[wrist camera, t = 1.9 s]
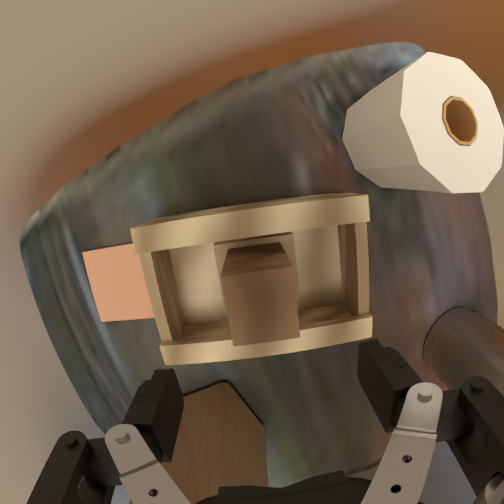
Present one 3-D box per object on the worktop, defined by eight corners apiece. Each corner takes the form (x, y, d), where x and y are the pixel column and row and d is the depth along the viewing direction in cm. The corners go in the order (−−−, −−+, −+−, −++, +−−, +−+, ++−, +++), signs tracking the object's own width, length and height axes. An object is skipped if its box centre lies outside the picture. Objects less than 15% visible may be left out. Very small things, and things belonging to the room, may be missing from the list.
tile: (150, 239, 28) (148, 240, 28) (167, 314, 30) (165, 316, 29) (85, 251, 28) (82, 252, 28) (103, 319, 30) (101, 321, 30)
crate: (340, 191, 28) (368, 194, 21) (348, 306, 30) (371, 336, 24) (156, 218, 28) (130, 228, 21) (180, 330, 30) (165, 365, 24)
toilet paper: (442, 155, 27) (519, 151, 15) (379, 207, 28) (451, 225, 16) (391, 77, 25) (456, 36, 13) (321, 123, 26) (369, 86, 14)
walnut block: (279, 241, 26) (293, 266, 18) (286, 295, 27) (300, 337, 19) (228, 248, 26) (220, 276, 18) (236, 301, 27) (233, 346, 19)
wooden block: (159, 401, 33) (115, 533, 13) (227, 375, 32) (214, 534, 12) (203, 446, 35) (187, 567, 15) (267, 426, 34) (277, 561, 14)
